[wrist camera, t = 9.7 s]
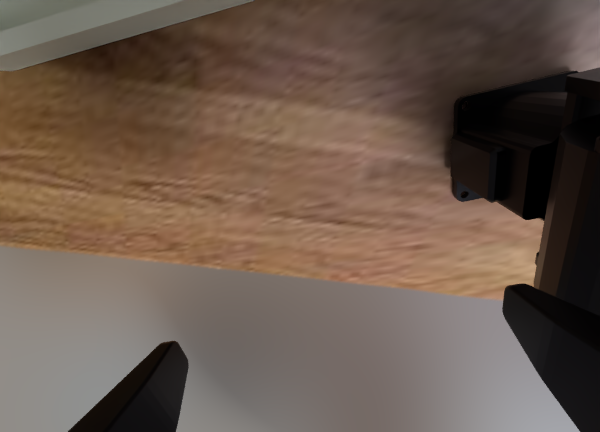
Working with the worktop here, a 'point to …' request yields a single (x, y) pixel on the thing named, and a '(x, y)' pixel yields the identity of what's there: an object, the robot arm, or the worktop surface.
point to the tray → (85, 24)
